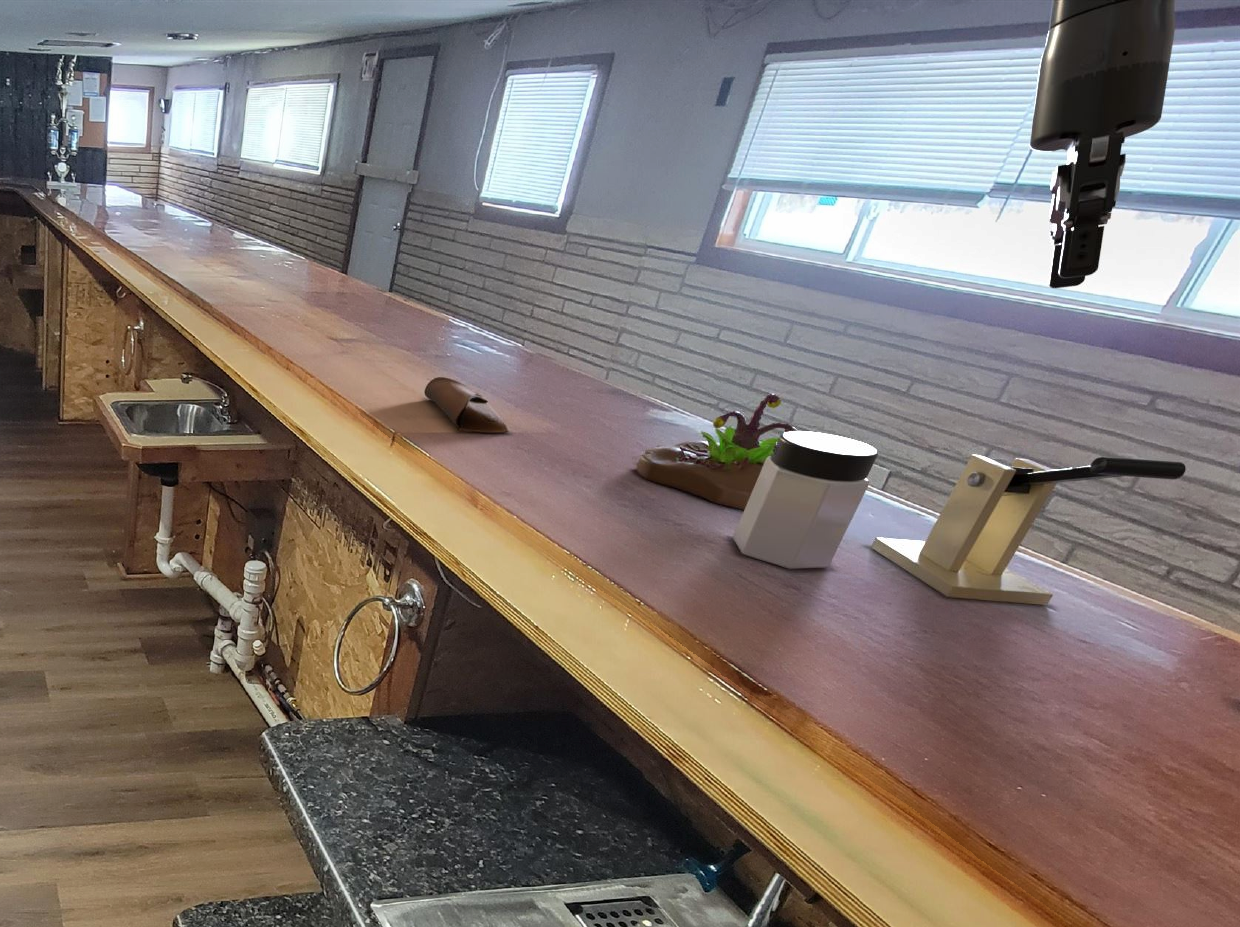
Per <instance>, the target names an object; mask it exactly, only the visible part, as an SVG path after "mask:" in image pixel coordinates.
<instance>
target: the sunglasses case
mask: <svg viewBox="0 0 1240 927" xmlns="http://www.w3.org/2000/svg"><path fill="white" fill-rule="evenodd" d="M424 396H425V397H426V398H427V399H429V400H430V401H432V402H434V403H435V404H436V405H437V406H438V407H439V408H440V409H441V410H442V411H443V412H444V414H446V415H447V417H448V418H449V419H450V420H451V421H452V422H453V423H454V424H455V425H456V426H457V428H458V430H459V431H460V432H467V433H475V434H506V433H509V432H510V431H509V428H508V426H507V424H506V423H505V421H504V420H503V419H502V417H501V416H500V415H499V414H498V412H497V411H496V410H495V409H494V408H493V407H491V406H490V404H489V403H488V402H489V400H488V399H487V398H486V397H485V396H483V395H482V394H481V393H479V392H477V391H475V390H474V389H472V388H470V387H469V386H468V385H466V384H464V383H462V382H460V381H458V380H455V379H452V378H449V377H444V376H438V377H437V376H436V377H434V378H433V379H431V380H430V381H429V382H428V383H427V384H426V385H425V388H424Z"/></svg>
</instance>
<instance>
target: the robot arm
mask: <svg viewBox="0 0 1240 927" xmlns="http://www.w3.org/2000/svg"><path fill="white" fill-rule="evenodd" d="M1175 4H1176V0H1052V1H1051V10H1050V17H1049V23H1048V24H1049V25H1048V33H1047V37H1046V42H1045V45H1044V49H1043V52H1042V56H1041V60H1040V64H1039V70H1038V76H1037V85H1036V93H1035V98H1034V99H1035V100H1034V107H1033V114H1032V121H1031V130H1030V138H1029V148H1030V149H1031V150H1033V151H1035V152H1044V153H1046V152H1047V153H1048V152H1049V153H1050V152H1056V151H1060V150H1061V151H1062V150H1063V151H1065V152H1067V159H1066V164H1060V165H1056V167H1055V171H1053V172H1052V177H1051V183H1050V193H1051V194H1052V199H1051V204H1050V209H1049V223H1050V224H1052V230H1050V232H1049V238H1050V242H1052V243H1051V245H1052V246H1053V250H1052V257H1051V263H1050V264H1051V265H1050V272H1049V279H1048V287H1049V288H1050V289H1062V288H1070V287H1071V288H1072V287H1077V286H1079V285H1081V284H1083V283H1084V282H1085V280H1086V277H1088V276H1092V275H1093V274H1095V273H1096V272H1097V271H1098V269H1099V266H1100V259H1101V252H1102V247H1103V246H1102V244H1103V238H1104V232H1105V225H1107V224H1108V222H1109V220H1111V218H1112V211H1113V208H1115V207H1116V205H1117V200H1118V195H1119V191H1120V188H1121V177H1122V175H1123V172H1124V169H1125V167H1126V166H1125V165H1126V159H1127V158H1126V157H1127V156H1126V155H1127V154H1126V153H1122V147H1123V144H1124V143H1125V141H1126V138H1128V137H1131V136H1135V135H1138V134H1140V133H1143V132H1145V131H1147V130H1150V129H1152V128H1153V127H1154V126H1156V125H1157V124H1158V123H1159V122H1160V121H1161V118H1162V116H1163V115H1162V113H1163V109H1164V103H1165V97H1166V96H1165V95H1166V89H1167V83H1168V76H1169V70H1170V64H1171V58H1172V50H1173V44H1174V39H1175V29H1176V16H1175V15H1176V14H1175Z"/></svg>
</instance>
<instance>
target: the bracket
mask: <svg viewBox="0 0 1240 927" xmlns="http://www.w3.org/2000/svg"><path fill="white" fill-rule="evenodd" d="M1010 467H1017V468H1031V469H1034V470H1033V473H1034V472H1043V471H1052V470H1054V469H1053V468H1050V467H1047V466H1045V465H1043V464H1040V463H1038V462H1036V461H1033V460H1030V459H1028V458H1022V457H1016V458H1015V459H1014V460H1013V463H1012V464H1011V466H1008V465H1006V464H1003V463H1001V462H998V461H996V460H994V459H991V458H989V457H986V456H985V455H980V454H972V455H971V456H970V459H969V460H968V461H967V464H966V465H965V467H964V470H963V471H962V473H961V475H960V477H959V478H958V481H957V482H956V484H955V486H954V488H953V490H952V492H951V493H950V495H949V497H948V499H947V500H946V503H945V504H944V506H943V508H942V510H941V512H940V514H939V516H938V518H937V519H936V521H935V523H934V525H933V526H932V529H931V531H930V533H929V534H928V536H927V537H926V540H925V541H923V540H913V539H912V540H911V539H898V538H888V537H887V538H886V537H875V538H874V540H873V542H872V544H871V546H870V548H871V549H872V550H874V551H875V552H877V553H878V554H880V555H882V556H883V557H885V558H887V559H888V560H890V561H891V562H893V563H894V564H896V565H897V566H898V567H900V568H902V569H903V570H905V571H907V572H908V573H910V575H913V576H915V577H916V578H917V579H919V580H920V581H922V582H923V583H924V584H927V585H928V586H930V587H931V588H933V589H935V591H937V592H939V593H940V594H942V595H943V596H945V597H946V598H956V599H967V600H977V601H979V600H980V601H990V602H1002V603H1016V604H1028V605H1038V606H1039V605H1040V606H1047V605H1048V604H1049V603H1050V601H1051V599H1052V598H1053V596H1054V594H1053V593H1051V592H1050V591H1048V590H1046V589H1044V588H1042V586H1039V585H1037V584H1036V583H1034V582H1031V581H1030V580H1028V579H1026V578H1025V577H1023V576H1021V575H1020V574H1018V573H1016V572H1014V571H1012V570H1010V569H1009V568H1008V566H1009V564H1010V563H1011V560H1012V559H1013V557H1014V555H1015V554H1016V553H1017V550H1018V549H1019V547H1020V546H1021V544H1022V542H1023V540H1024V539H1025V537H1026V536H1027V534H1028V532H1029V530H1031V527H1032V526H1033V524H1034V522H1035V520H1036V519H1037V517H1038V515H1039V514H1040V512H1041V511H1042V509H1043V507H1044V505H1045V504H1046V502H1047V500H1048V499H1049V497H1050V495H1051V494H1052V492H1053V491H1054V490H1055V488H1056V485H1057V484H1058V483H1051V484H1040V485H1031V487H1030V493H1029V494H1022V495H1010V496H1002V495H1003V493H1004V491H1005V490H1006V488H1007V486H1008V484H1009V483H1010V481H1011V479H1012V477H1013V476H1014V474H1015V472H1016V470H1015V469H1012V468H1010Z"/></svg>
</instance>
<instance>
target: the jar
mask: <svg viewBox="0 0 1240 927" xmlns="http://www.w3.org/2000/svg"><path fill="white" fill-rule="evenodd" d="M778 438H779V439H778V442H777V443H776V444H775V446H774V449H773V453H772V456H768V457H767V458H766V460H765V463H764V465H763V467H762V470H761V472H760V474H759V477H758V479H757V482H756V484H755V486H754V489H753V491H752V493H751V496H750V498H749V500H748V503H747V505H746V508H745V510H743V512H742V514H741V517H740V519H739V522H738V524H737V527H736V529H735V532H734V533H733V536H732V539H733V541H734V542H735V545H736V546H737V548H738V549H739V551H740V552H741V554H742V555H744V556H747V557H749V558H753V559H757V560H760V561H763V562H766V563H769V564H772V565H775V566H778V567H781V568H785V569H788V570H799V569H800V570H802V569H826V568H828V567H830V565H831V563H832V561H833V559H834V556H835V555H836V552H837V551H838V549H839V547H840V545H841V543H842V540H843V538H844V537H845V534H846V533H847V531H848V528H849V526H850V524H851V522H852V520H853V519H854V516H855V514H856V512H857V510H858V508H859V505H860V503H861V501H862V500H863V497H864V496H865V493H866V491H867V489H868V487H869V486H870V483H871V481H870V480H869V479H868V476H869V474H870V472H871V471H872V468H873V465H874V464H875V461H876V460H877V457H878V456H879V452H878V450H877V449H876V448H875V447H873V446H871V445H869V444H868V443H865V442H862V441H858V440H856V439H851V438H848V437H844V436H839V435H835V434H829V433H824V432H823V433H822V432H814V431H805V430H804V431H802V430H797V431H791V432H785V431H784V432H783V433H781V434H780V435H779V437H778Z"/></svg>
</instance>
